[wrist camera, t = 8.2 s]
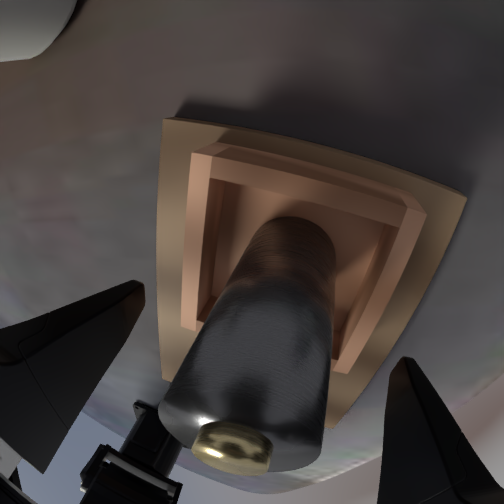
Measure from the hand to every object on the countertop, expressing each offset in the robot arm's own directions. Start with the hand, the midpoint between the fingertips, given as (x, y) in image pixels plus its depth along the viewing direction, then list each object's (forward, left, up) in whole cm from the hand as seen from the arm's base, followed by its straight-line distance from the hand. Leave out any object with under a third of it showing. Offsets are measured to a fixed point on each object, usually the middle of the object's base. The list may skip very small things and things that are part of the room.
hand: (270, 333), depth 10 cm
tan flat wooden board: (-5, 0, -6) cm, 8 cm away
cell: (0, 0, -5) cm, 5 cm away
